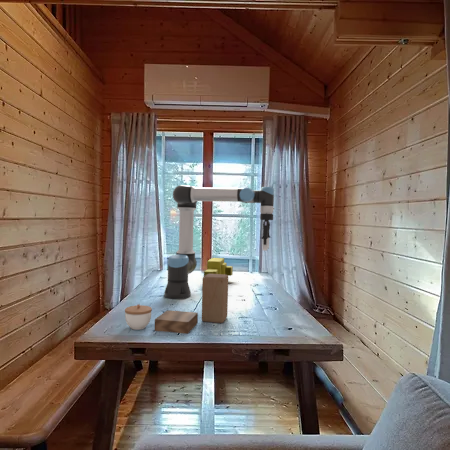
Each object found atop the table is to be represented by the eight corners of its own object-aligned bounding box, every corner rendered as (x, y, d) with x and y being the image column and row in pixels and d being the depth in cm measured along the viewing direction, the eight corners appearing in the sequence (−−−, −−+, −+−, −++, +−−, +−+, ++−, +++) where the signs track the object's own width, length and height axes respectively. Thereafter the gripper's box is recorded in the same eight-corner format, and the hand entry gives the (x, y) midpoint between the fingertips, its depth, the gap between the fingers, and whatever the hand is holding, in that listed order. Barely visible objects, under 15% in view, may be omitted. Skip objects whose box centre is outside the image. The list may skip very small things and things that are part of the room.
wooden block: (223, 324, 148) (224, 278, 148) (200, 322, 150) (202, 276, 150) (227, 317, 158) (228, 274, 158) (206, 315, 160) (207, 273, 160)
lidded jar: (135, 321, 148) (136, 300, 148) (156, 325, 144) (157, 303, 144) (118, 329, 138) (119, 305, 138) (140, 333, 134) (141, 309, 134)
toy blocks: (212, 257, 257) (233, 258, 255) (211, 278, 257) (233, 280, 255) (202, 263, 222) (227, 264, 220) (202, 288, 223) (226, 289, 220)
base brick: (154, 331, 138) (154, 319, 137) (166, 321, 151) (167, 310, 151) (187, 334, 135) (188, 322, 135) (197, 324, 149) (197, 312, 148)
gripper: (272, 213, 188) (270, 251, 189) (274, 213, 213) (273, 248, 213) (258, 212, 190) (257, 251, 190) (262, 213, 214) (261, 247, 215)
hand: (265, 249), depth 202 cm, fingers open, 13 cm apart
